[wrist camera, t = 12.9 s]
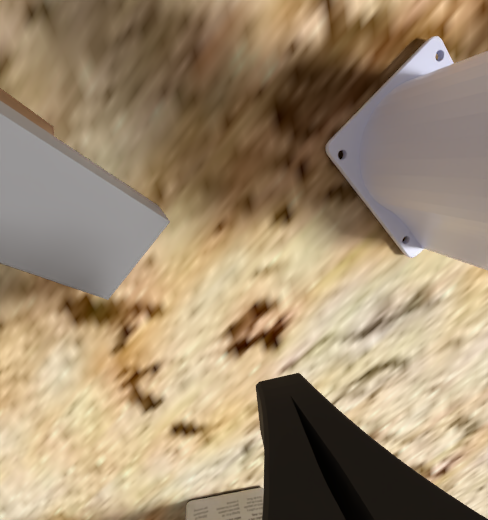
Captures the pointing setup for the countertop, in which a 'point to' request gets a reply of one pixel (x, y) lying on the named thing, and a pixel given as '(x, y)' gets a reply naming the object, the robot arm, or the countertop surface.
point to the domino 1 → (25, 111)
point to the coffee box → (228, 506)
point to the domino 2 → (68, 212)
